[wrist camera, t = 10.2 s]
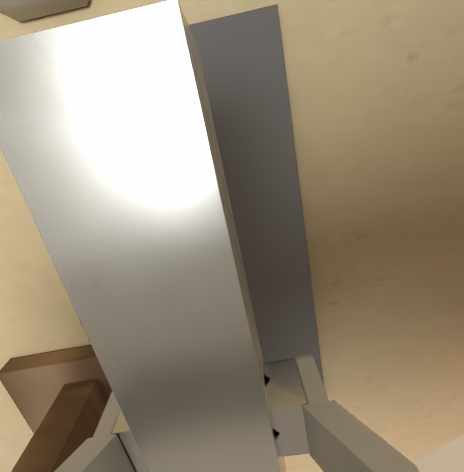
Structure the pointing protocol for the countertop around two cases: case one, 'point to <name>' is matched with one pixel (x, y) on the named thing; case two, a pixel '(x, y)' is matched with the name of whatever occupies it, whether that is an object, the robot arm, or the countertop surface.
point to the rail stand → (56, 403)
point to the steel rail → (142, 229)
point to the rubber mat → (261, 175)
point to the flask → (37, 7)
